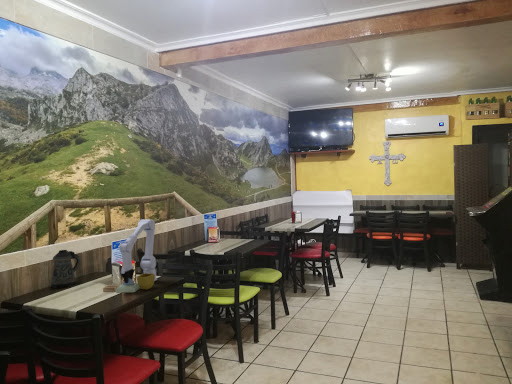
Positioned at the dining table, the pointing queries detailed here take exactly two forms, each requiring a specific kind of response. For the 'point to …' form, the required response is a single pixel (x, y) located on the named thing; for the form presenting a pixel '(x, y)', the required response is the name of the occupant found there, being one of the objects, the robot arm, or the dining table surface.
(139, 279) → the flower pot
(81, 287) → the dining table surface
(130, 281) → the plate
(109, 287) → the stand
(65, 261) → the beer stein
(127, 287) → the grey-green flat piece
